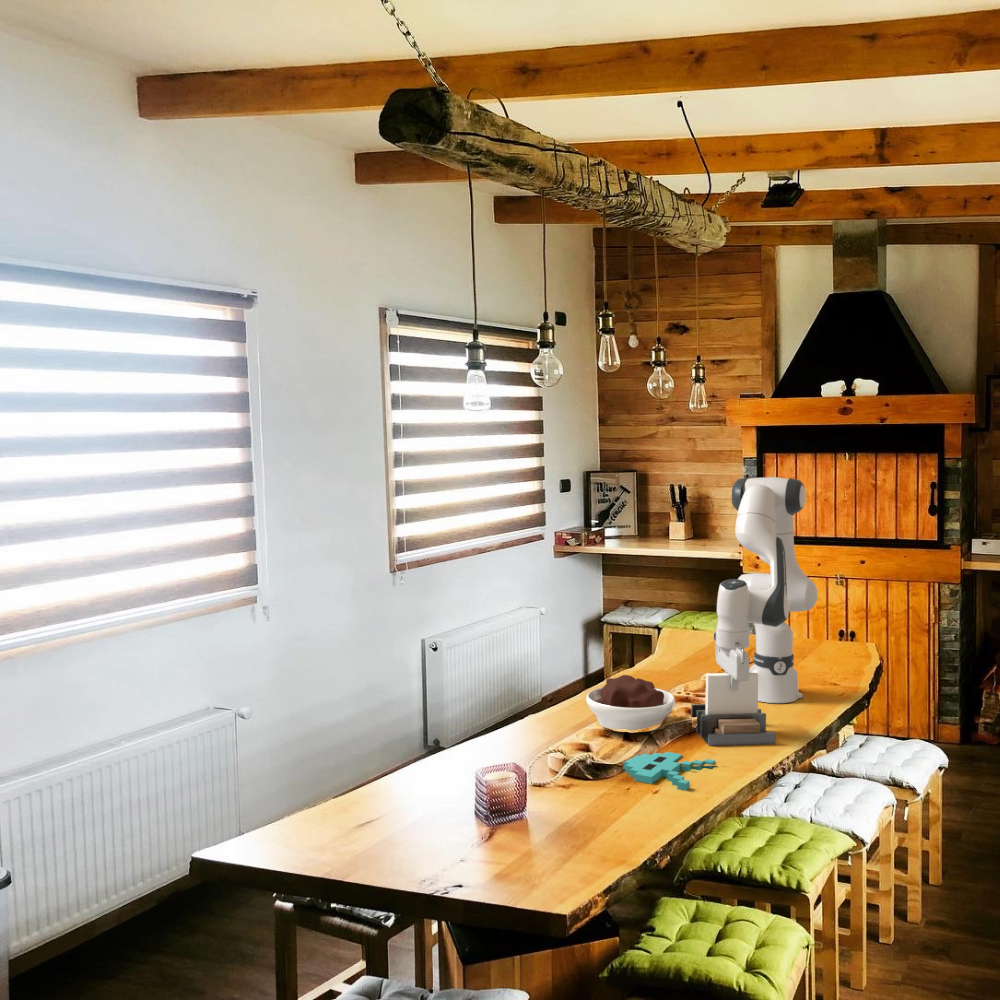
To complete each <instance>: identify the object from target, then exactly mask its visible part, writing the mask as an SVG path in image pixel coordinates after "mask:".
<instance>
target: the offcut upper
mask: <svg viewBox="0 0 1000 1000" xmlns="http://www.w3.org/2000/svg"><path fill="white" fill-rule="evenodd" d="M718 729H719V730H720V731H721V732H722V733H760V723H759V722H757V721H756V720H755V719H723V720H719V724H718Z"/></svg>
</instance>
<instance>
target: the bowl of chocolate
mask: <svg viewBox="0 0 1000 1000" xmlns="http://www.w3.org/2000/svg"><path fill="white" fill-rule="evenodd" d="M605 682H606V684H605V685H604V686H603V687H598V688H595V689H592V690H591V691H589V692H588V693H587V695H586V697H585V700H586V703H587V706H588V708H589V710H591V712H592V713H593V714H594V715H595V716H596V720H597V722H598V723H599V726H601V727H602V726H604V727H606V728H609V729H627V730H638V729H643V728H647V727H652V726H654V725H658V724H660V723H661V722H662V721H663V720H664V721H665V719H666V717H667V716H669V714H670V713H671V712H672V711H673V709H674V708H675V705H676V699H675V698H676V697H675V696H674V695H673V694H672V693H670V692H668V691H667V690H663V689H660V688H657V687H655V685H654V683H653V682H652V681H649V680H645V679H643V678H638V677H637V678H635V677H633V676H631V675H628V674H623V675H620V676H617V677H615V678H607V679H606V680H605ZM664 721H663V722H664ZM604 727H603V728H604ZM606 728H605V729H606Z"/></svg>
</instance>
